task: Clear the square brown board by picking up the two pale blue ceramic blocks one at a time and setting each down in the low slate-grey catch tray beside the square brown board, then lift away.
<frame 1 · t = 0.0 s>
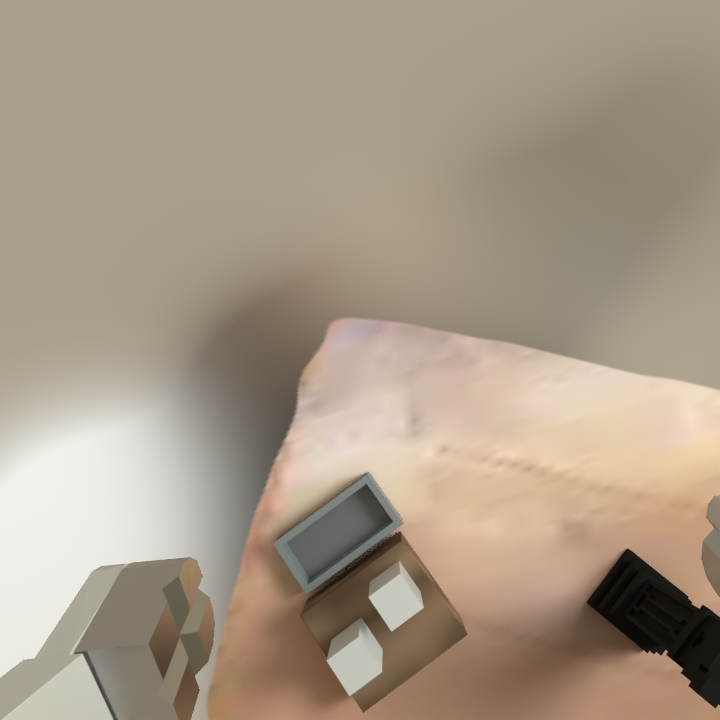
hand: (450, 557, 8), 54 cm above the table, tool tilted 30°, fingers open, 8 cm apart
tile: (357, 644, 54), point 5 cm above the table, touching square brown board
catch tray: (339, 529, 61), on the table
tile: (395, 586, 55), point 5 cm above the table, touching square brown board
chess piece: (634, 598, 58), on the table
square brown board: (383, 608, 59), on the table
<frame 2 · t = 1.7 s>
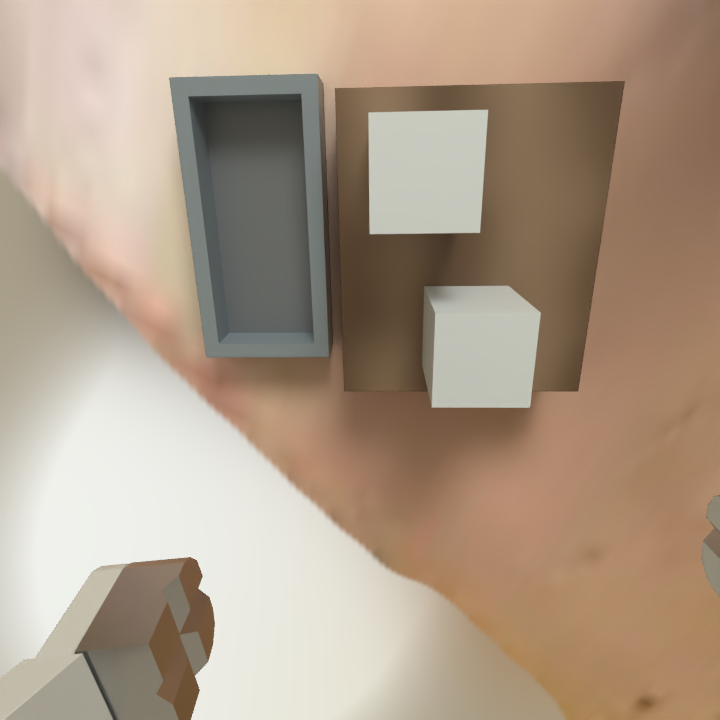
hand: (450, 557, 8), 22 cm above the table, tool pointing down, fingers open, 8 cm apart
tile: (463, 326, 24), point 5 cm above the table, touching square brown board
catch tray: (266, 225, 28), on the table
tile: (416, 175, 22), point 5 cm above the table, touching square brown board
square brown board: (453, 241, 28), on the table
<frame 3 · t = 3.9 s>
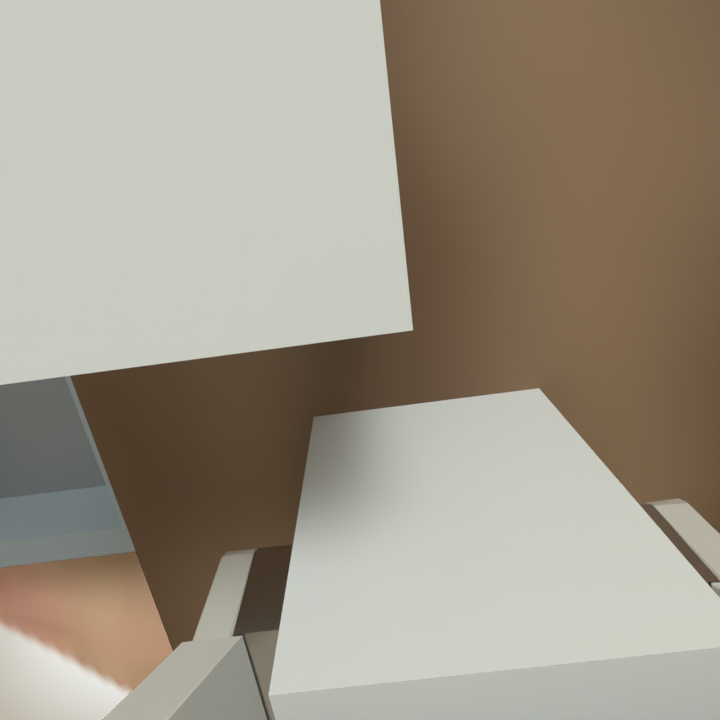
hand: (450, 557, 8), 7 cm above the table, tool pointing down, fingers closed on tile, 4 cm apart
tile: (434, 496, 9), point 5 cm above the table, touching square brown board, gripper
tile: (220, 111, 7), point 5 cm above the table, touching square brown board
square brown board: (394, 267, 13), on the table
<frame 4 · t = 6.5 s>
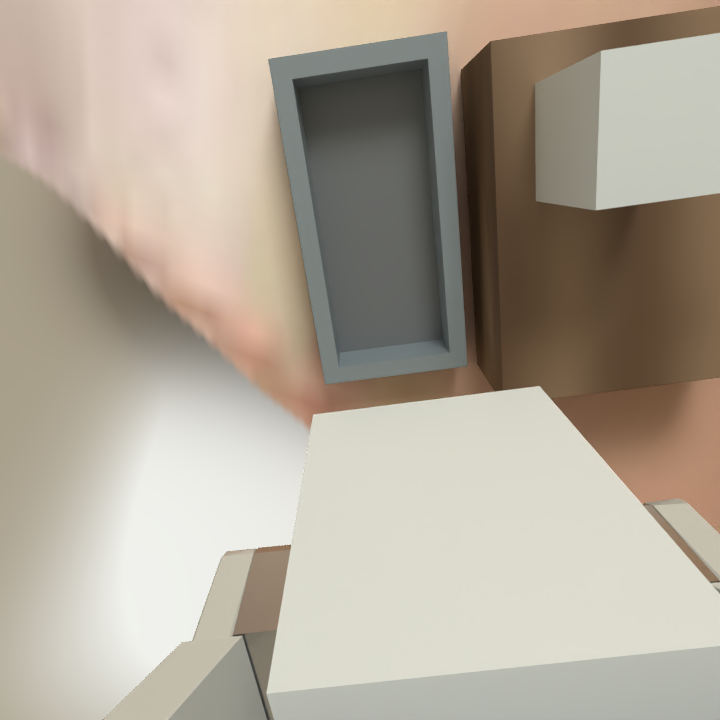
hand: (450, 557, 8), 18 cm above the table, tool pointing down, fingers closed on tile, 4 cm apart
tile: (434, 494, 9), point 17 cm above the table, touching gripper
catch tray: (376, 223, 24), on the table
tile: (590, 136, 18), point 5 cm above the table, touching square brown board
square brown board: (593, 214, 24), on the table
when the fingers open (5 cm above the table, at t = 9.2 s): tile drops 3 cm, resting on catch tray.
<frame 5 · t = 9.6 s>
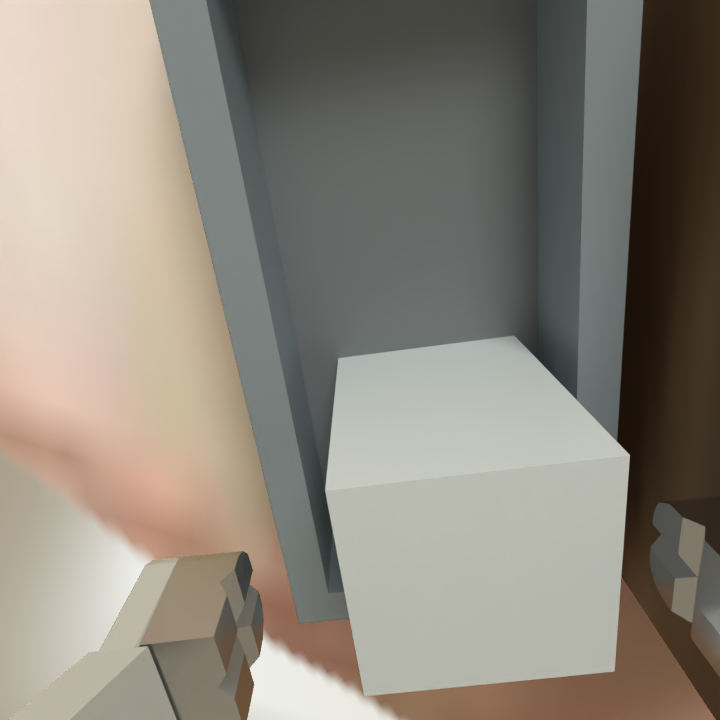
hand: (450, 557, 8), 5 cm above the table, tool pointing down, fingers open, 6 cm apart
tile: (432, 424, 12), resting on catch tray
catch tray: (410, 281, 11), on the table
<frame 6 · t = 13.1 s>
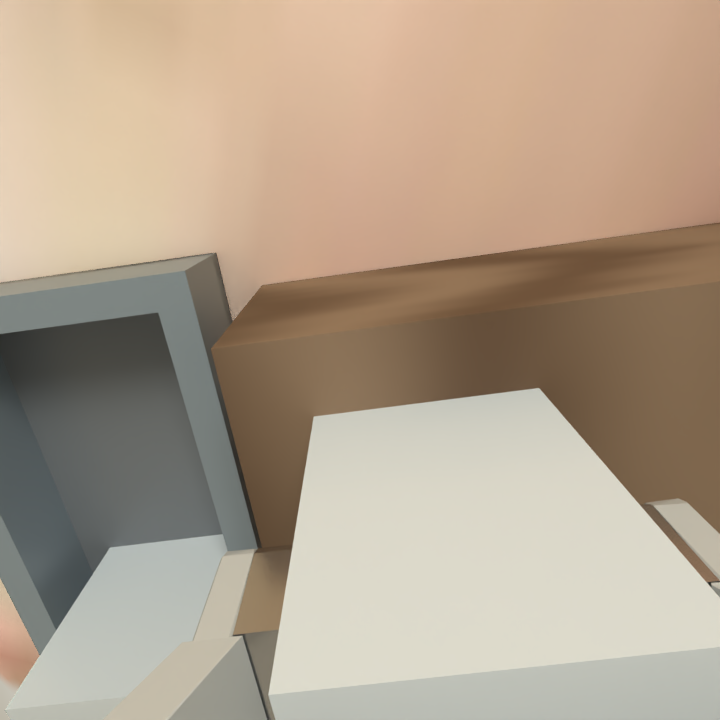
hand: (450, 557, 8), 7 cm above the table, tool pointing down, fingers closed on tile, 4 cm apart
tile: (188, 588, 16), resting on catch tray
catch tray: (158, 494, 15), on the table
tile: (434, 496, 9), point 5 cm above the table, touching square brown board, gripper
square brown board: (499, 480, 15), on the table
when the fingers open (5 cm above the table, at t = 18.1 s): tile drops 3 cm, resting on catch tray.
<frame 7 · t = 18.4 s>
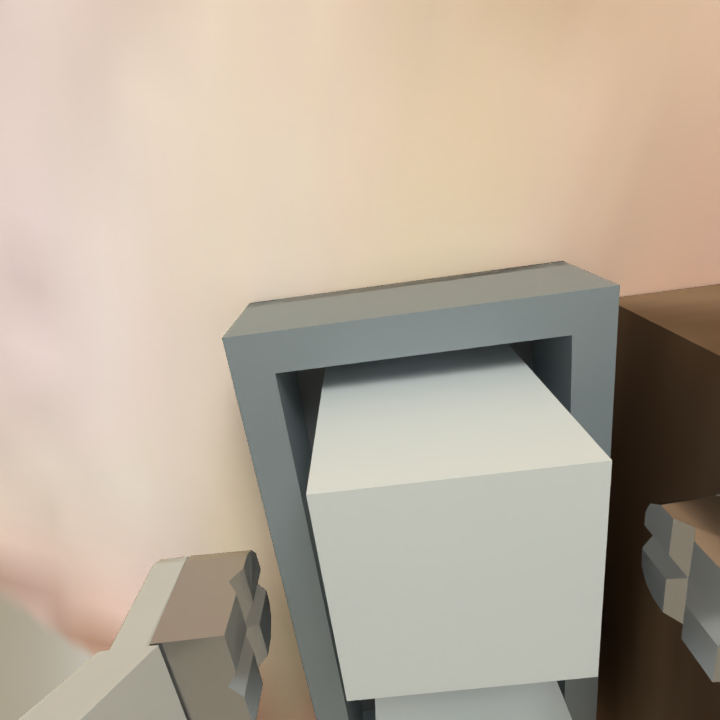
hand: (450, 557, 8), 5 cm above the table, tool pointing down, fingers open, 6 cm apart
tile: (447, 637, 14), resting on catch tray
catch tray: (430, 533, 13), on the table
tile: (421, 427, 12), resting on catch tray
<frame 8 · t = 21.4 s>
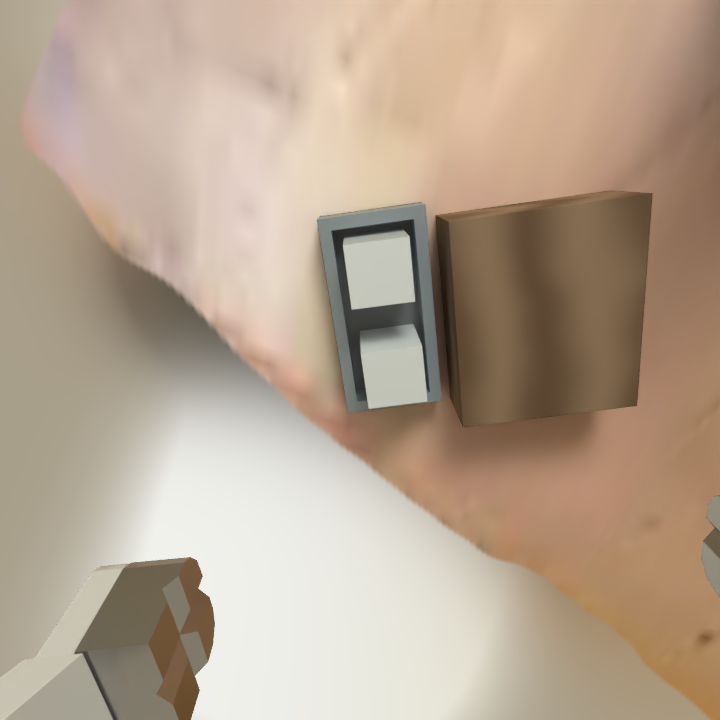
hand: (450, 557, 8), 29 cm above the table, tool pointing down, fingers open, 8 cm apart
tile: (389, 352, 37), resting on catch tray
catch tray: (381, 307, 36), on the table
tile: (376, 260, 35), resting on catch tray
square brown board: (524, 301, 36), on the table
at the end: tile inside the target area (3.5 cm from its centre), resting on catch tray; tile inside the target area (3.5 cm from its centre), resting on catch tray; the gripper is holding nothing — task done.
